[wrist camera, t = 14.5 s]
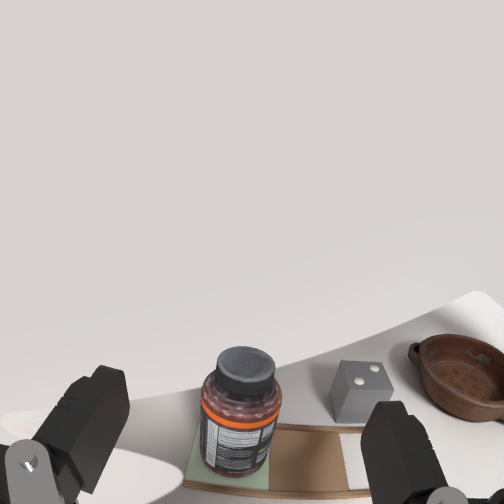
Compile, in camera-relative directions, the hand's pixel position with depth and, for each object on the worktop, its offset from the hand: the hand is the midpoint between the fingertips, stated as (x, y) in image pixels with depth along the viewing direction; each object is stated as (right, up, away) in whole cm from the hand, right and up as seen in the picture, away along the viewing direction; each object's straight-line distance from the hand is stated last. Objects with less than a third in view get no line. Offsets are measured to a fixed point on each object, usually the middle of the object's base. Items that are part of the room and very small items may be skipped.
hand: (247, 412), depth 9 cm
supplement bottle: (-2, -13, +15) cm, 20 cm away
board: (+5, -14, +15) cm, 22 cm away
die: (+12, -13, +23) cm, 29 cm away
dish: (+29, -15, +25) cm, 42 cm away
